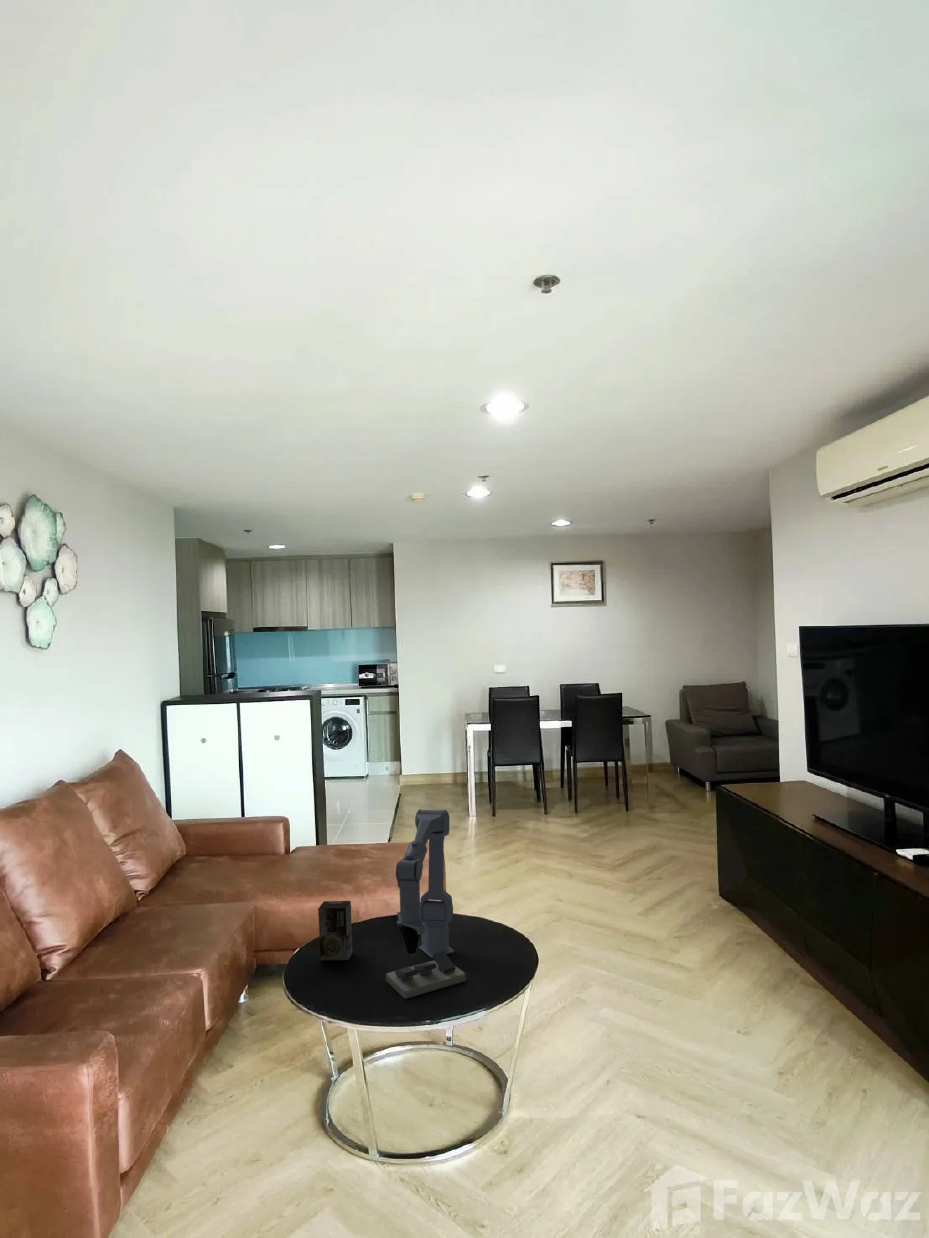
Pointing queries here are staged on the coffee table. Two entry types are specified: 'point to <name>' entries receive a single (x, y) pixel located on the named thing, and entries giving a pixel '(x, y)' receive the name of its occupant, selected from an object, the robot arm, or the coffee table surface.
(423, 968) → the rocker mid
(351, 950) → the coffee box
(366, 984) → the coffee table surface
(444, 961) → the rocker back
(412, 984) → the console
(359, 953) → the coffee table surface
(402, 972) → the block
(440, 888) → the robot arm
